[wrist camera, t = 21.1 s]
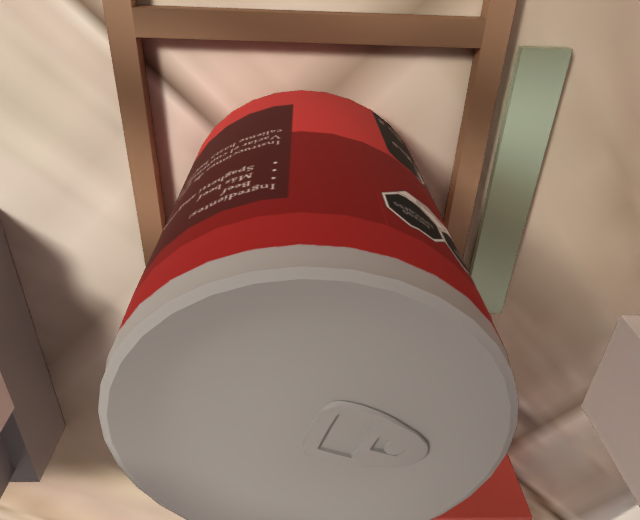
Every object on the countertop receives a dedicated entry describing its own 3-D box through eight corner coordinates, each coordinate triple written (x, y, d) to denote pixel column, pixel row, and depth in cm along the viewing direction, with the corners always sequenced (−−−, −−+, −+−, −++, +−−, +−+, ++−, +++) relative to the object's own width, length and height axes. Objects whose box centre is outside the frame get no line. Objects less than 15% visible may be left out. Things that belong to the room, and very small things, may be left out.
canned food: (396, 284, 22) (468, 555, 12) (196, 271, 21) (114, 546, 12) (437, 94, 18) (591, 284, 8) (192, 70, 17) (62, 247, 8)
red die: (393, 421, 26) (414, 531, 21) (494, 421, 26) (537, 530, 21) (383, 485, 29) (399, 595, 24) (475, 485, 29) (509, 593, 24)
